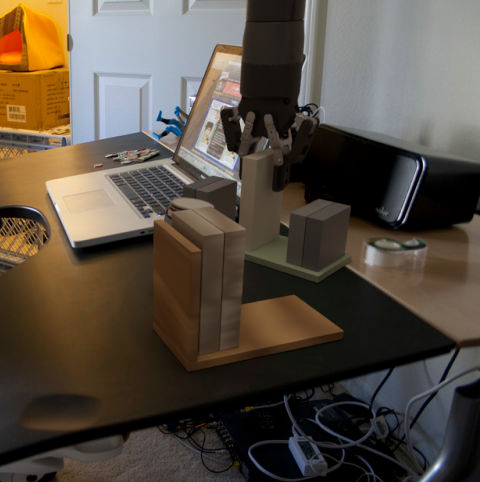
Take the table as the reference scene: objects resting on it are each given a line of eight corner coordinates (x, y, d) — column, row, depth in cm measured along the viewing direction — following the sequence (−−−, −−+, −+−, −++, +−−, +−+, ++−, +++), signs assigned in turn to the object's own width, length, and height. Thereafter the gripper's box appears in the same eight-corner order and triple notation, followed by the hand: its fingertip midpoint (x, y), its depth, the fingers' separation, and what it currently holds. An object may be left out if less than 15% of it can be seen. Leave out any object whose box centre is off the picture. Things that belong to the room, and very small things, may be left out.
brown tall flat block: (279, 237, 91) (286, 148, 87) (250, 251, 87) (257, 159, 82) (265, 233, 93) (272, 146, 88) (237, 247, 89) (242, 157, 84)
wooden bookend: (293, 301, 75) (304, 189, 70) (343, 339, 67) (359, 215, 62) (152, 329, 71) (153, 211, 66) (188, 372, 63) (191, 241, 58)
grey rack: (351, 261, 85) (359, 205, 82) (317, 283, 80) (324, 223, 77) (211, 221, 101) (213, 173, 98) (174, 237, 96) (175, 186, 93)
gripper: (340, 57, 78) (325, 191, 84) (241, 52, 88) (234, 172, 94) (308, 64, 73) (295, 205, 80) (207, 58, 83) (203, 183, 90)
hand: (262, 186), depth 87 cm, fingers open, 4 cm apart
